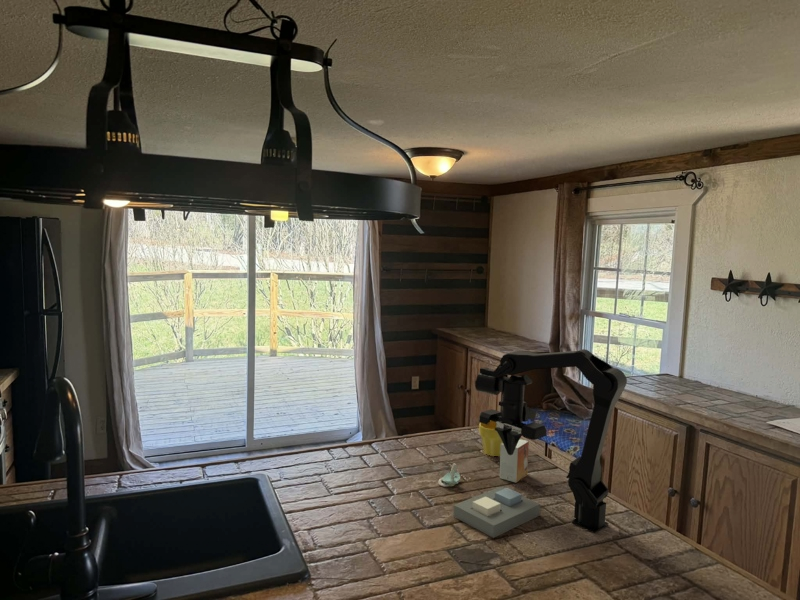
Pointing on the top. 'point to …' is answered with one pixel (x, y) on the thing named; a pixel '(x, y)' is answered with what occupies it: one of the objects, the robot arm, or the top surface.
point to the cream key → (486, 506)
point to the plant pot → (490, 438)
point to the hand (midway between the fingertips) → (510, 454)
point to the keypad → (496, 514)
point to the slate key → (508, 497)
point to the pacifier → (450, 477)
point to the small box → (514, 462)
